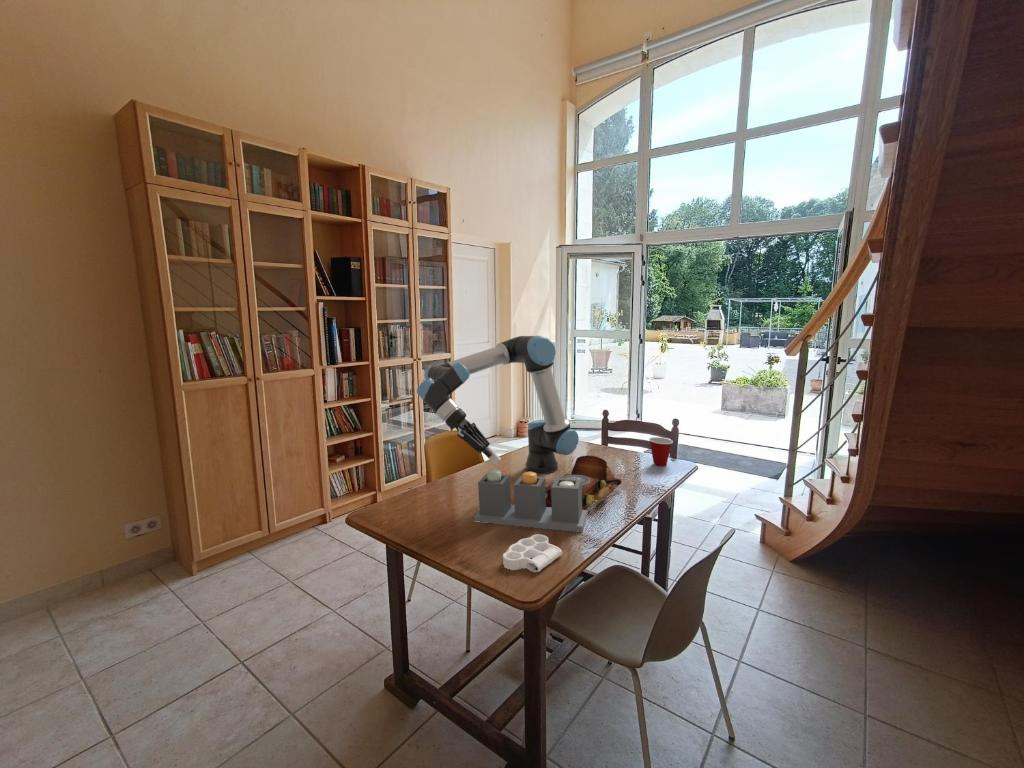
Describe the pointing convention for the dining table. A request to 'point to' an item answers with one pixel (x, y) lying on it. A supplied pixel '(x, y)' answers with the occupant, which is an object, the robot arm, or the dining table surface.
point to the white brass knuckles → (531, 553)
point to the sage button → (494, 476)
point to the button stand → (532, 504)
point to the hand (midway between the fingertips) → (498, 461)
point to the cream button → (566, 484)
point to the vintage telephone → (590, 480)
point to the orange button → (529, 478)
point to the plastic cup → (660, 450)
